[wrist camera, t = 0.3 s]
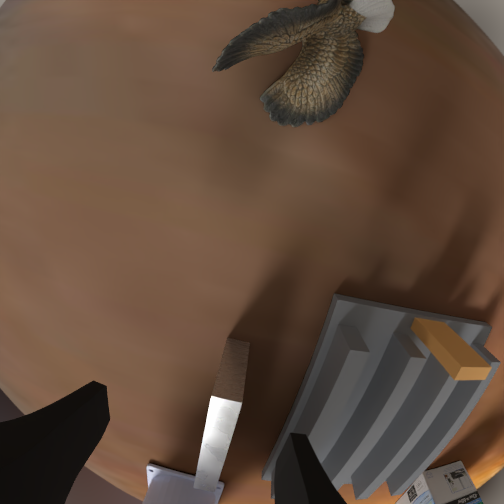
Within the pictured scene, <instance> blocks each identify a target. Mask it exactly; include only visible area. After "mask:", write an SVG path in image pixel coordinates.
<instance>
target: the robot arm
mask: <svg viewBox="0 0 504 504" xmlns="http://www.w3.org/2000/svg"><path fill="white" fill-rule="evenodd" d="M109 421H110V414H109V406H108V397H107V386H105V385H103V384H100V383H98V382H96V381H92V382H90V383H88V384H86V385H85V386H83V387H81V388H80V389H78V390H76V391H74V392H73V393H71V394H69V395H67V396H66V397H64V398H62V399H60V400H58V401H56V402H54V403H52V404H50V405H48V406H46V407H44V408H42V409H40V410H37V411H35V412H33V413H30V414H28V415H25V416H22V417H19V418H16V419H13V420H9V421H5V422H0V504H65V501H66V498H67V496H68V494H69V492H70V489H71V487H72V485H73V483H74V481H75V479H76V477H77V475H78V473H79V472H80V470H81V469H82V467H83V466H84V464H85V463H86V461H87V460H88V458H89V457H90V455H91V454H92V452H93V451H94V449H95V447H96V446H97V444H98V443H99V441H100V440H101V438H102V436H103V434H104V432H105V430H106V427H107V425H108V423H109ZM195 477H196V476H193V475H189V474H185V473H181V472H178V471H174V470H171V469H167V468H164V467H161V466H157V465H154V464H151V463H149V464H147V479H148V491H147V493H146V496H145V498H144V501H143V504H218V501H219V499H220V496H221V493H222V491H223V488H224V483H223V482H220V481H218V483H217V486H216V489H215V492H210V491H205V490H201V489H196V488H193V487H194V482H195ZM274 495H275V504H347V503H346V502H345V501H344V499H343V498H342V497H341V495H340V494H339V492H338V491H337V490H336V488H335V487H334V485H333V484H332V482H331V480H330V479H329V477H328V475H327V474H326V472H325V470H324V469H323V467H322V465H321V463H320V461H319V459H318V458H317V456H316V454H315V452H314V450H313V448H312V445H311V443H310V441H309V439H308V437H307V435H306V434H300V433H290V434H289V436H288V438H287V440H286V442H285V444H284V446H283V448H282V450H281V452H280V454H279V456H278V458H277V460H276V465H275V476H274Z"/></svg>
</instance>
